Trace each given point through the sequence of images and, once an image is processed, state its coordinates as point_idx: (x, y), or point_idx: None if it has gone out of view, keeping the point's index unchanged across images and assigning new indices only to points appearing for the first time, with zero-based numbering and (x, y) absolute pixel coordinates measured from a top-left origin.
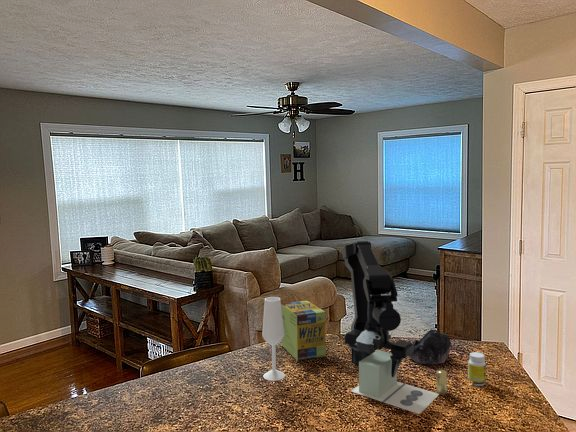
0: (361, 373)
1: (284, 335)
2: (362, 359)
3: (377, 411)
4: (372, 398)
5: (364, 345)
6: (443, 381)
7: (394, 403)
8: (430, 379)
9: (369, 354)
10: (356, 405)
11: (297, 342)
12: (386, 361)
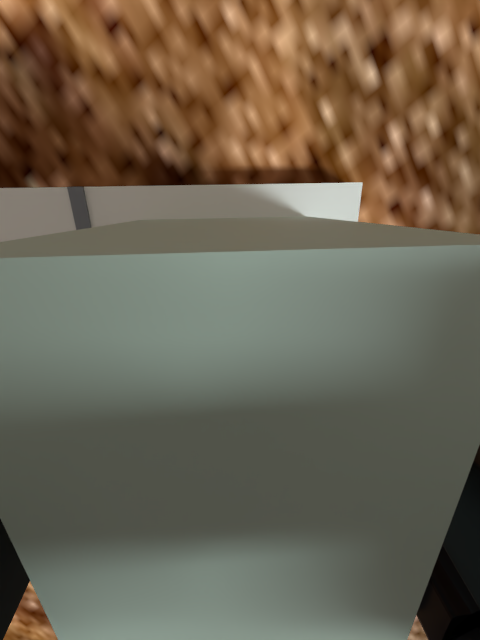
0: (342, 226)
1: None
2: (469, 477)
3: (72, 87)
4: (172, 186)
5: None
6: None
7: (5, 222)
8: None
9: (429, 588)
10: (244, 65)
11: None
12: (48, 593)
